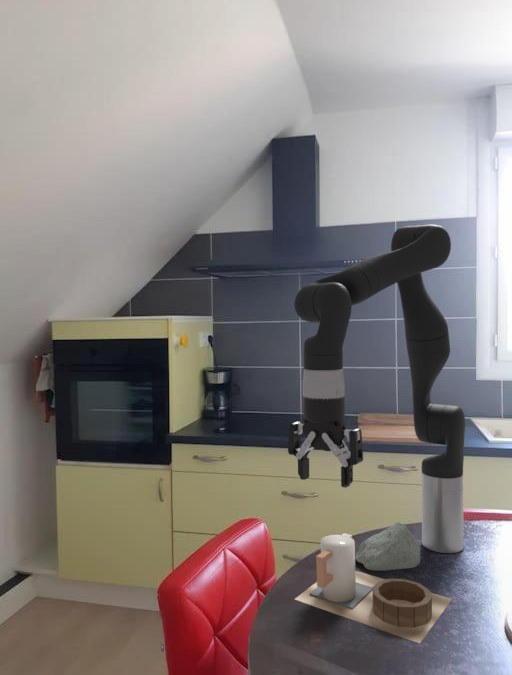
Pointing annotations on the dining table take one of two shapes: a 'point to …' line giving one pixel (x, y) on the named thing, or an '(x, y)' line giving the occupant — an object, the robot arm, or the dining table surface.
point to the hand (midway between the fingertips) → (324, 482)
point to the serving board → (385, 605)
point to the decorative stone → (389, 550)
